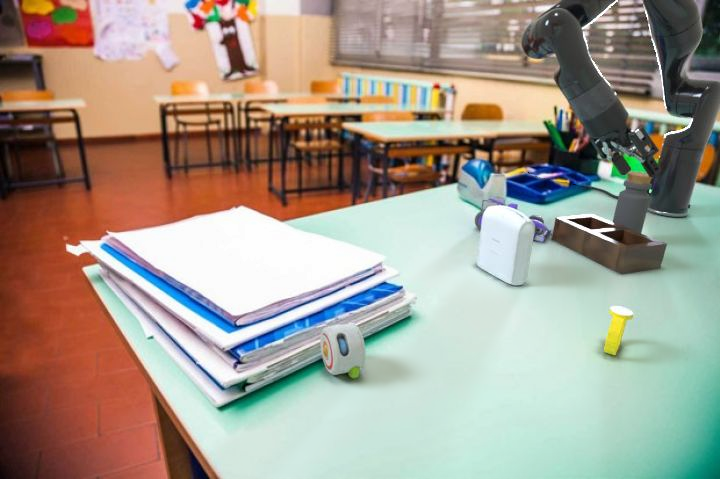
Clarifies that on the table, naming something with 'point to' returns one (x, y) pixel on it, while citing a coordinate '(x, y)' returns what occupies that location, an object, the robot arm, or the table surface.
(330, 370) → the roller toy
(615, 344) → the white topped yellow dowel
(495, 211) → the photo printer
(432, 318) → the table surface
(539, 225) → the toy race car
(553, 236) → the box
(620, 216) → the bottle
